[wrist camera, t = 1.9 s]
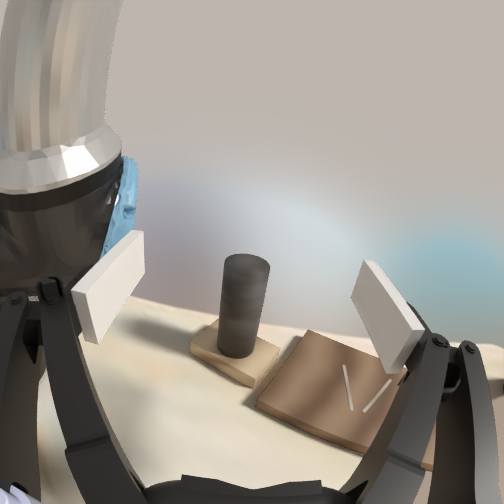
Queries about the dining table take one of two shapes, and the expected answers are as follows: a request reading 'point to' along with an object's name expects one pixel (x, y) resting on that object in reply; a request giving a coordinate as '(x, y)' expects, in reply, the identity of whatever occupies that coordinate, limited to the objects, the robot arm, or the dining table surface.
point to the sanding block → (239, 323)
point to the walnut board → (335, 394)
